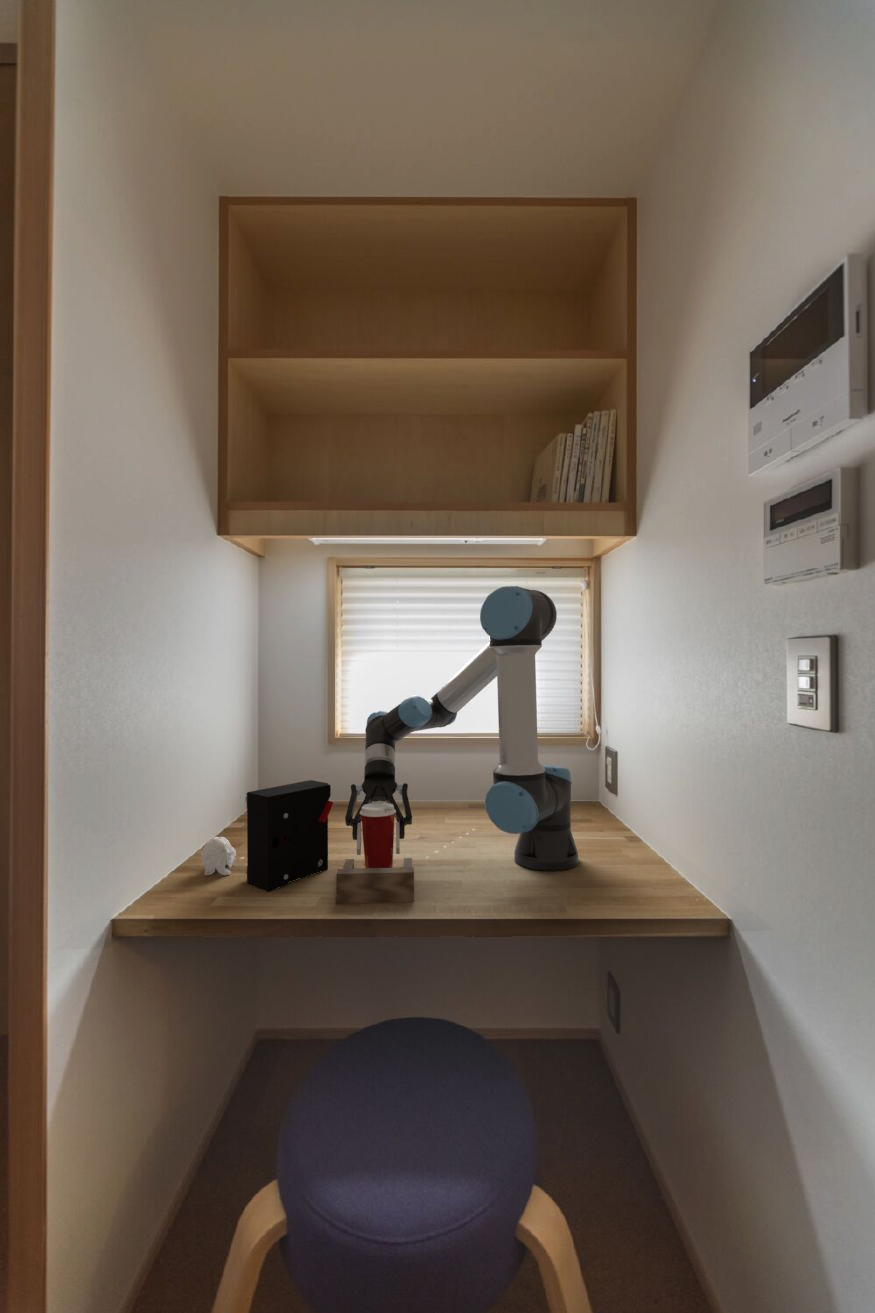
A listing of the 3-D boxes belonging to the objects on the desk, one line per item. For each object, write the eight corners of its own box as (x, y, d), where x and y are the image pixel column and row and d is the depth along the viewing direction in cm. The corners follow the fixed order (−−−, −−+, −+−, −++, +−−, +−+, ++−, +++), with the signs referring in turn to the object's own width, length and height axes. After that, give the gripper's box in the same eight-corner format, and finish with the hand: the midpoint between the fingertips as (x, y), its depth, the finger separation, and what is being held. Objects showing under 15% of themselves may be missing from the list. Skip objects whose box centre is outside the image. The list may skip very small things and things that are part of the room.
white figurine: (199, 839, 146) (218, 830, 158) (198, 879, 145) (216, 866, 157) (227, 839, 146) (244, 830, 158) (226, 879, 145) (243, 866, 157)
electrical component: (305, 862, 157) (304, 778, 157) (333, 871, 151) (333, 784, 151) (241, 882, 144) (241, 790, 144) (270, 892, 137) (269, 797, 137)
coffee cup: (404, 871, 150) (403, 805, 150) (377, 880, 144) (376, 812, 143) (379, 863, 155) (378, 800, 155) (352, 872, 149) (351, 806, 149)
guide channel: (412, 866, 154) (412, 841, 154) (414, 902, 132) (414, 872, 132) (345, 867, 153) (345, 842, 153) (336, 903, 131) (336, 873, 131)
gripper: (421, 774, 165) (424, 858, 149) (338, 776, 164) (332, 860, 148) (422, 757, 160) (425, 841, 144) (336, 758, 159) (329, 844, 143)
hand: (378, 851), depth 146 cm, fingers closed on coffee cup, 8 cm apart
